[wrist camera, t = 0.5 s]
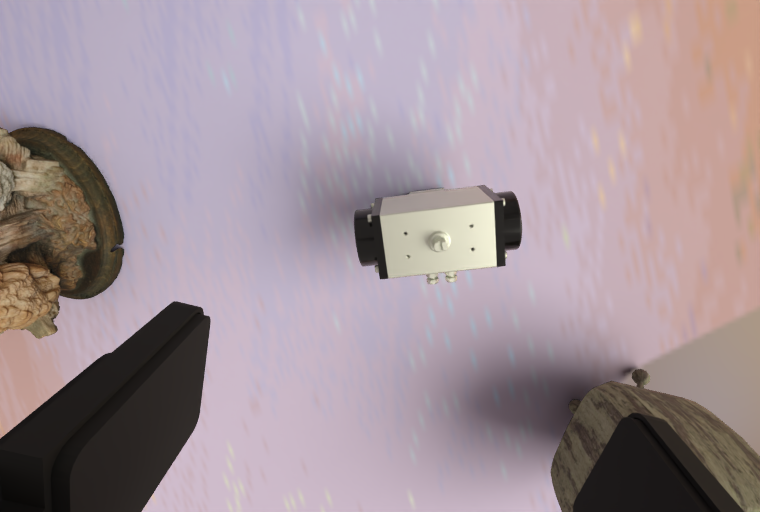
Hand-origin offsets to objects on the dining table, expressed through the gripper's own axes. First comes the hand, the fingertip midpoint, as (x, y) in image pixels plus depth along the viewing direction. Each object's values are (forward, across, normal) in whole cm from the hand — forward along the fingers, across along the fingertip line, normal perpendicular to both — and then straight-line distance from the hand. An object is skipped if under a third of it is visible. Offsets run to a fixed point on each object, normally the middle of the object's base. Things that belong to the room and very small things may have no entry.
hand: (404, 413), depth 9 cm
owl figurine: (+30, +31, +12) cm, 45 cm away
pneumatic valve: (+30, -3, +2) cm, 31 cm away
